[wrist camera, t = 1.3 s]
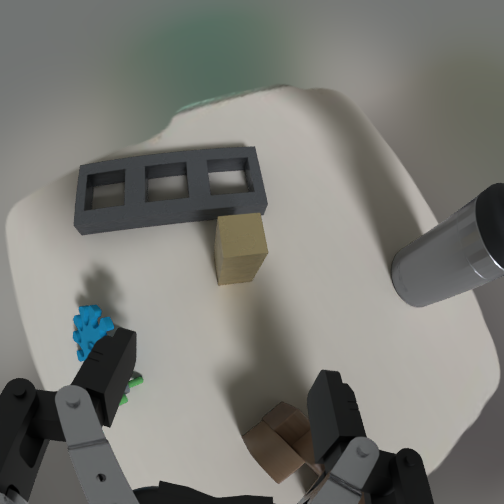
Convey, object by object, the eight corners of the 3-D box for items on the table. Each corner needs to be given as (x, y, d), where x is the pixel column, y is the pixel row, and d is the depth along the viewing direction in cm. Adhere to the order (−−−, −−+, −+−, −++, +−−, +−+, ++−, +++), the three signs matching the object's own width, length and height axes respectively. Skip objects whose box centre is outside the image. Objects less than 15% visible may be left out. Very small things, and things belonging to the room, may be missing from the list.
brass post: (246, 249, 38) (260, 212, 29) (251, 281, 37) (268, 252, 28) (213, 253, 37) (217, 216, 28) (218, 285, 36) (223, 257, 27)
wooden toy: (237, 436, 30) (303, 560, 7) (282, 400, 33) (421, 453, 9) (316, 510, 28) (431, 613, 4) (355, 476, 30) (499, 545, 7)
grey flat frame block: (251, 159, 43) (254, 146, 40) (263, 214, 40) (267, 203, 37) (86, 177, 38) (80, 165, 36) (81, 235, 36) (73, 225, 33)
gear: (60, 316, 30) (94, 294, 25) (100, 308, 35) (143, 286, 30) (91, 406, 29) (134, 409, 24) (129, 391, 34) (178, 388, 29)
